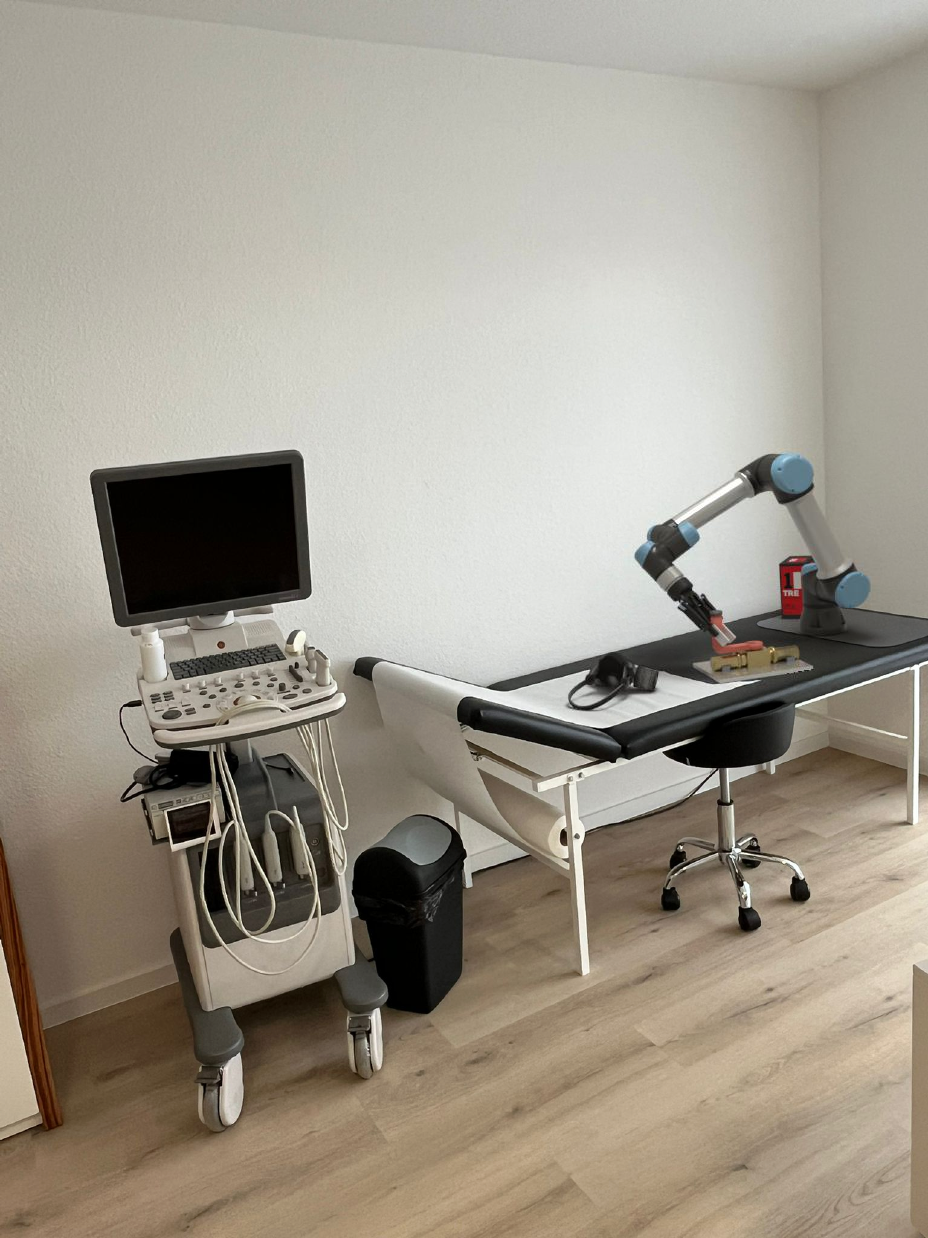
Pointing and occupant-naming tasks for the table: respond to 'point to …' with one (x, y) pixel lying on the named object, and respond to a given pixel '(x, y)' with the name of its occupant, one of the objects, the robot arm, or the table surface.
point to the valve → (753, 664)
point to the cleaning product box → (792, 585)
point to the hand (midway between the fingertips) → (729, 641)
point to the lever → (750, 645)
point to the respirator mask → (616, 678)
